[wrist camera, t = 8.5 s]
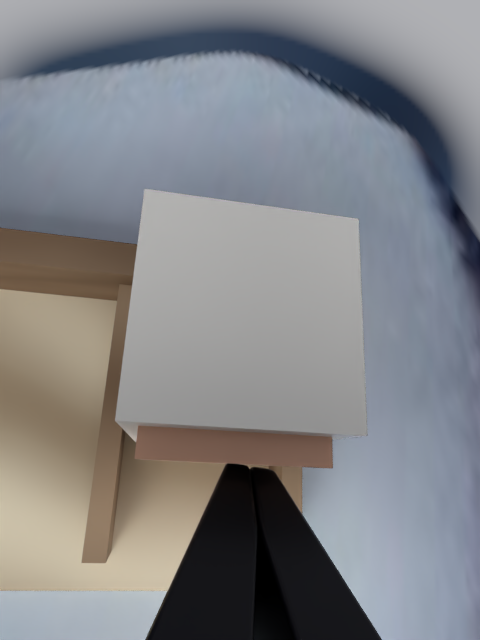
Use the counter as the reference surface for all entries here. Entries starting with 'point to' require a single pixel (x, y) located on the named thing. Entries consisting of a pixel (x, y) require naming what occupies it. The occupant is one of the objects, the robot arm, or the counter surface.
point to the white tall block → (242, 334)
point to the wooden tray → (83, 430)
